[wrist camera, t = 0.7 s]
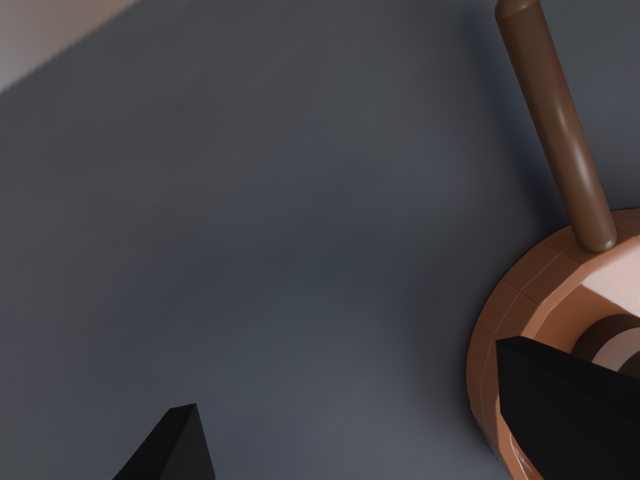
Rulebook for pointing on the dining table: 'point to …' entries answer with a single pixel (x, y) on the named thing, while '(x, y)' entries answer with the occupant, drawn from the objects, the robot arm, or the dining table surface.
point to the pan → (549, 316)
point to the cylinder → (612, 344)
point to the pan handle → (556, 121)
